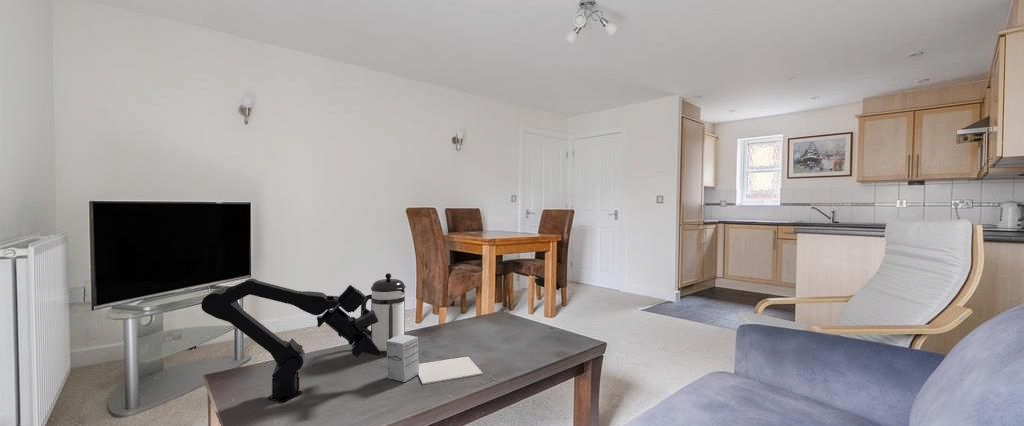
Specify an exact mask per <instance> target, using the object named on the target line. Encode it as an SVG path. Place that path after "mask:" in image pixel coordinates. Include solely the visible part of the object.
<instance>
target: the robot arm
mask: <svg viewBox="0 0 1024 426" xmlns="http://www.w3.org/2000/svg"><path fill="white" fill-rule="evenodd" d="M248 296H255V297H259V298H262V299H267V300H271V301H274V302H279V303H284V304H287V305H291V306H294V307H296V308H297V309H300V310H302V311H303V312H305V313H308V314H309V315H313V316H316V321H317V324H316V325H317V328H320V327H321V326H322V325H323V324H324V323H325V324H326V325H327V326H328V327H330V328H331V329H332V330H333V331H335V332H336V333H337V335H338V337H340V338H343V339H345V340H346V341H347V342H348V344H349V346H351V354H352V355H353V356H354V357H356V358H358V357H360V356H361V354H369V355H375V356H380V355H381V354H382V351H380V350H379V349H378V348H377V346H376V345H375V344H374V342H373V341H372V335H371V332H370V331H371V330H370V331H368V332H367V334H366V333H364V332H365V331H366V330H365V329H364V328H369V327H371V325H372V324H375V323H377V322H378V318H377V316H376V314H375V312H374V310H370V309H368V308H367V307H366V309H364V310H362V316H361V315H359V317H358V318H356V317H355V316H351V315H348V314H349V313H352V312H353V313H355V311H356V310H357V309H358V308H360V307H361V304H362V303H363V302H364V301H365V300H366V299H367V297H366V296H367V295H365V294H364V293H363V292H362V291H360V289H357V288H356V287H355V286H353V285H352V284H349V285H348V286H346V288H345V290H344V291H343V292H342V293H341V294H340V295H339V296H338V295H327V294H326V293H324V292H319V291H312V290H311V291H308V290H307V291H306V290H305V291H301V290H295V289H292V288H289V287H284V286H279V285H277V284H272V283H268V282H264V281H260V280H257V279H256V278H253V277H251V278H248V279H246V280H245V281H242V282H240V283H237V284H235V285H232V286H230V287H228V288H225V289H224V288H219V289H217V288H216V289H214V290H213V291H211V292H210V293H208V294H207V295H206V296H204V298H203V299H202V300H201V307H200V308H201V310H202V311H203V312H204V313H205V314H207V315H209V316H211V317H214V318H216V319H218V320H221V321H224V322H227V323H229V324H231V325H232V326H234V327H235V328H236V329H238V330H239V331H240V332H241V333H243V334H244V335H246V336H247V337H248V338H249V339H251V340H252V341H253V342H255V343H256V344H258V345H259V346H260V347H262V348H263V349H264V350H265V351H267V352H268V353H269V354H270V355H271V356H272V358H273V360H274V361H275V363H276V364H275V367H274V370H273V373H272V375H271V395H269V396H268V397H267V399H268V398H270V399H269V400H272V399H275V400H274V401H276V400H278V401H277V402H280V401H281V403H285V402H287V401H289V399H290V400H292V399H293V398H295V397H297V396H299V395H301V394H303V390H300V375H299V371H300V370H301V368H303V365H304V360H305V354H306V353H305V351H304V349H303V346H304V345H302V344H299V343H298V342H297V341H296V340H295V339H294V338H290V340H289V341H287V340H284V339H282V338H280V337H279V336H278V335H276V334H275V333H273V331H271V330H270V329H269V328H267V327H266V326H264V325H263V324H262V323H261V322H259V321H258V320H257V319H256V318H254V317H253V316H252V315H250V314H249V313H247V312H246V311H245V310H244V309H243V308H242V306H241V304H240V303H239V302H238V301H240V300H241V299H243V298H245V297H248Z"/></svg>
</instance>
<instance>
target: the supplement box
mask: <svg viewBox="0 0 1024 426" xmlns="http://www.w3.org/2000/svg"><path fill="white" fill-rule="evenodd" d="M418 338H419V337H418V336H413V335H408V334H405V335H403V334H400V335H398V336H396V337H394V338H391V339H389V340H387V341H386V344H387V351H386V362H387V363H386V364H387V365H386V366H387V367H386V368H387V379H389V380H395V381H399V382H402V383H406V382H408V381H410V380H411V379H413V378H414V377H416V376H418V374H419V364H420V363H419V341H418V340H419V339H418Z"/></svg>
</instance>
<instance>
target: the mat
mask: <svg viewBox="0 0 1024 426" xmlns="http://www.w3.org/2000/svg"><path fill="white" fill-rule="evenodd" d="M483 374H484V373H483V372H482V370H481V369H480V368H479V367H478V366H477V365H476V364H475V362H473V360H472V359H471V358H470V357H469V356H462V357H457V358H450V359H449V358H448V359H442V360H436V361H429V362H423V363H419V374H418V375H417V377H418V379H419V380H420V382H421V384H422V385H428V384H429V385H430V384H434V383H435V384H436V383H441V382H445V381H451V380H458V379H464V378H470V377H475V376H476V377H477V376H481V375H483Z"/></svg>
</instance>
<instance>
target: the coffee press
mask: <svg viewBox="0 0 1024 426" xmlns="http://www.w3.org/2000/svg"><path fill="white" fill-rule="evenodd" d="M370 290H371V291H370V292H371V294H367V295H365V296H366V297H367V299H366V300H365V301H364V302H363V303H362V304H361V305H360V316H362V310H364V309H366V308H367V303H368V301H369V300H371V302H370V303H371V304H370V306H371V307H370V309H371V310H374V312H375V314H376V316H377V318H378V322H377V323H375V324H372V325H370V329H371V330H370V329H368V328H369V327H368V328H364V329H365V330H366V331H365V332H364V333H366V334H367V332H368V331H370V332H371V335H372V341H373V342H374V344H375V345H376V346H377V348H378V349H379V350H380V352H387V344H386V341H387V340H389V339H391V338H394V337H396V336H398V335H400V334H403V335H406V330H405V329H406V324H405V323H406V317H405V316H406V313H405V312H406V296H407V295H406V294H407V292H406V285H405V283H404V282H403V281H402V280H400V279H397V278H392V274H391V273H388V272H387V273H386V274H385V278H384V279H383V278H382V279H379V280H376V281H374V282H373V283H372V286H370ZM371 310H370V311H371Z"/></svg>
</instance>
